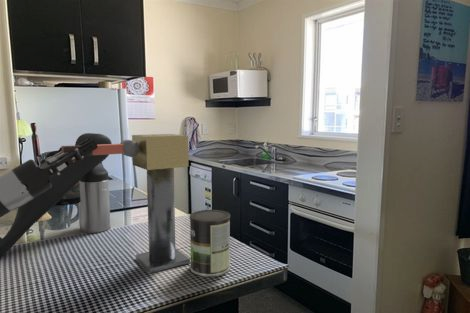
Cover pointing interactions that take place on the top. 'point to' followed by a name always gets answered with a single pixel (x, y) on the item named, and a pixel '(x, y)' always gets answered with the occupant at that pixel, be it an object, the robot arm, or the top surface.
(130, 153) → the lever
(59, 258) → the top surface
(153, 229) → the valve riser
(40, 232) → the top surface
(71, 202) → the beer stein
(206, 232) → the coffee can
